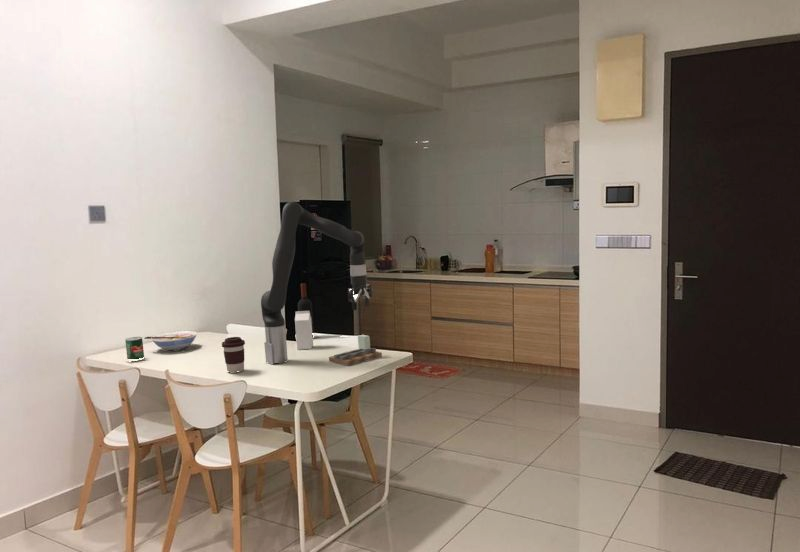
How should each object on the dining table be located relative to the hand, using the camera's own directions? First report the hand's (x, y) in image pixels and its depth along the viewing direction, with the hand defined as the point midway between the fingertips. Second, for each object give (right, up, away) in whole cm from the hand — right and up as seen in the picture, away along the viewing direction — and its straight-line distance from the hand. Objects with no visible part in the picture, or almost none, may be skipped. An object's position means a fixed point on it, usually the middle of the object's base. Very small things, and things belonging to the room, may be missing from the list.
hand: (361, 308), depth 298 cm
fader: (+2, -20, -2) cm, 20 cm away
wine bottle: (-32, -19, +47) cm, 60 cm away
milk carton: (-30, -22, +24) cm, 44 cm away
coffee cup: (-55, -28, -15) cm, 63 cm away
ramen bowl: (-100, -24, +38) cm, 110 cm away
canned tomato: (-113, -27, +18) cm, 118 cm away
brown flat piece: (-2, -23, -5) cm, 24 cm away
